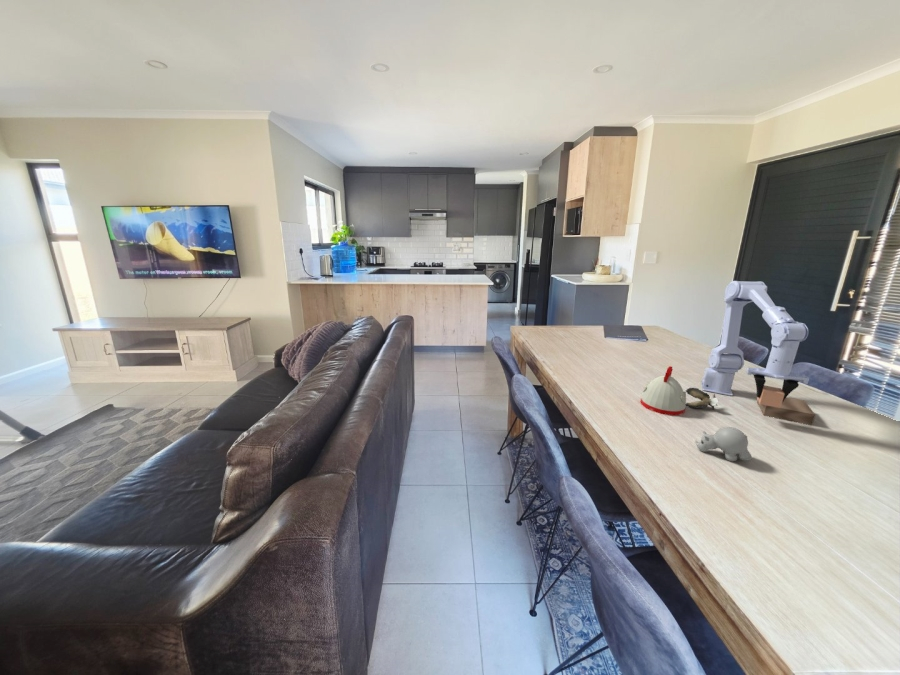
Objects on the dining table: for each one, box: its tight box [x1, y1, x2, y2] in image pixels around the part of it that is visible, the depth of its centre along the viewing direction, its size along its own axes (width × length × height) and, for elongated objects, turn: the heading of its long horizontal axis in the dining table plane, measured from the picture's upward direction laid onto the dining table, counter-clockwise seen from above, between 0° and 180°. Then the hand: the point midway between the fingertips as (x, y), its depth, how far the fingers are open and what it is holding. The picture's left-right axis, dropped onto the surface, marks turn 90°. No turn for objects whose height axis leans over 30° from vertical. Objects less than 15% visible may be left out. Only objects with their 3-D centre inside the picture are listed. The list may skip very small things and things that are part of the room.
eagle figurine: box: [685, 387, 720, 410], centre depth 122 cm, size 8×7×9 cm
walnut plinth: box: [756, 396, 816, 426], centre depth 118 cm, size 12×12×4 cm
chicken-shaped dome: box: [639, 365, 687, 416], centre depth 122 cm, size 14×14×15 cm
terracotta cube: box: [756, 384, 785, 408], centre depth 111 cm, size 5×5×5 cm
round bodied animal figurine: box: [694, 426, 753, 462], centre depth 95 cm, size 7×12×8 cm, turn 59°
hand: (769, 398), depth 111 cm, fingers closed on terracotta cube, 5 cm apart
